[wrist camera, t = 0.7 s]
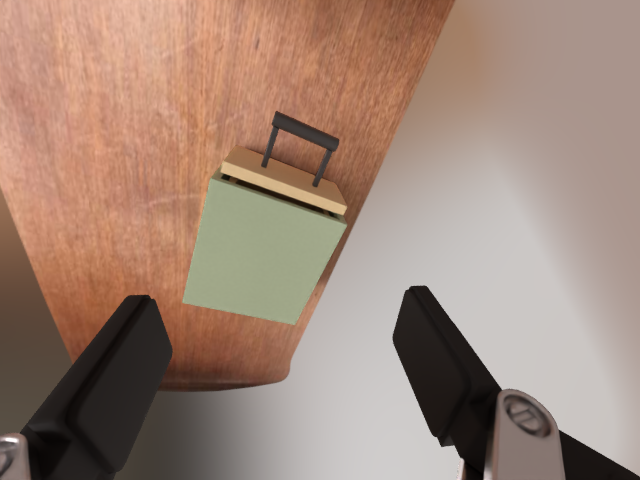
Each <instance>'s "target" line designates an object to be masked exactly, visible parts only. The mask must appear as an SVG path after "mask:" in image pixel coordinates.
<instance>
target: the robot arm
mask: <svg viewBox="0 0 640 480" xmlns="http://www.w3.org/2000/svg"><path fill="white" fill-rule="evenodd" d="M393 344H394V346H395V348H396V351H397V353H398V356H399V358H400V361H401V363H402V365H403V368H404V370H405V372H406V375H407V377H408V379H409V382H410V384H411V387H412V389H413V391H414V394H415V396H416V399H417V401H418V403H419V406H420V408H421V411H422V413H423V415H424V418H425V420H426V422H427V425H428V427H429V429H430V431H431V433H432V435H433V436H434V437H437V438H438V440H439V443H440V445H441V447H444V446H453V445H455V448H456V449H457V452H458V454H459V456H460V462H459V468H458V475H457V480H640V477H639V476H638V475H636V474H635V473H633V472H631V471H630V470H628V469H626V468H624V467H623V466H621V465H619V464H617V463H615V462H614V461H612V460H610V459H609V458H607V457H605V456H604V455H602V454H600V453H598V452H596V451H595V450H593V449H591V448H590V447H588V446H586V445H585V444H583V443H581V442H579V441H577V440H576V439H574V438H572V437H571V436H569V435H567V434H565V433H564V432H562V431H560V430H559V429H558V427H557V424H556V422H555V420H554V418H553V417H552V415H551V414H550V412H549V411H548V410H547V409H546V408H545V407H544V406H543V405H542V404H541V403H540V402H538V401H537V400H536V399H535V398H533V397H531V396H530V395H528V394H526V393H524V392H521V391H519V390H514V389H505V390H502V389H501V388H500V386H499V385H498V384H497V382H496V381H495V379H494V378H493V377H492V375H491V374H490V372H489V371H488V370H487V368H486V367H485V365H484V364H483V363H482V361H481V360H480V359H479V357H478V356H477V354H476V353H475V352H474V350H473V349H472V347H471V346H470V345H469V343H468V342H467V340H466V339H465V338H464V336H463V335H462V333H461V332H460V331H459V329H458V328H457V327H456V325H455V324H454V323H453V322H452V321H451V319H450V318H449V316H448V315H447V313H446V312H445V311H444V309H443V308H442V307H441V305H440V304H439V302H438V301H437V300H436V298H435V297H434V295H433V294H432V293H431V291H430V290H429V288H428V287H427V286H411V287H410V288H409V290H406V291H405V294H404V297H403V301H402V304H401V308H400V311H399V315H398V319H397V322H396V326H395V329H394V333H393ZM171 357H172V346H171V343H170V340H169V337H168V335H167V332H166V329H165V326H164V323H163V321H162V318H161V315H160V312H159V309H158V306H157V304H156V301H155V300H154V299H151V298H150V296H149V295H130V296H127V297H126V298H125V299H124V301H123V302H122V303H121V304H120V306H119V307H118V308H117V310H116V311H115V312H114V313H113V315H112V316H111V317H110V318H109V320H108V321H107V322H106V324H105V325H104V326H103V327H102V329H101V330H100V331H99V333H98V334H97V335H96V336H95V338H94V339H93V340H92V341H91V343H90V344H89V345H88V346H87V348H86V349H85V350H84V351H83V353H82V354H81V355H80V357H79V358H78V359H77V360H76V362H75V363H74V364H73V365H72V367H71V368H70V369H69V371H68V372H67V373H66V375H65V376H64V377H63V378H62V379H61V381H60V382H59V383H58V385H57V386H56V387H55V388H54V390H53V391H52V392H51V394H50V395H49V396H48V397H47V399H46V400H45V401H44V402H43V404H42V405H41V406H40V408H39V409H38V410H37V411H36V413H35V414H34V415H33V416H32V418H31V419H30V420H29V422H28V423H27V424H26V425H25V427H24V428H23V429H22V431H21V432H20V433H6V434H2V435H0V480H113V479H114V476H115V474H116V472H118V471H120V470H121V469H122V468H123V466H124V465H125V463H126V461H127V458H128V456H129V454H130V452H131V449H132V447H133V445H134V443H135V440H136V438H137V436H138V433H139V431H140V429H141V426H142V424H143V422H144V420H145V417H146V415H147V412H148V410H149V408H150V406H151V403H152V401H153V399H154V397H155V394H156V392H157V390H158V387H159V385H160V383H161V381H162V378H163V376H164V374H165V371H166V369H167V367H168V364H169V362H170V360H171Z"/></svg>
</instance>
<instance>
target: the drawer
mask: <svg viewBox="0 0 640 480" xmlns="http://www.w3.org/2000/svg"><path fill="white" fill-rule="evenodd" d="M272 125H273V129H272V132H271V135H270V138H269V141H268V145H267V148H266V151H265V154H264V155H261V154H259V153H256V152H254V151H251V150H249V149H246V148H243V147H241V146H238V145H236V146H235V147H234V148H233V150H232V151H231V152H230V153H229V155H228V156H227V157H226V158H225V160H224V161H223V163H222V168H221V173H224V174H227V175H230V176H231V177H230V179H229V182H232V183H235V184H238V185H241V186H244V187H247V188H249V189H252V190H255V191H258V192H261V193H264V194H267V195H270V196H273V197H275V198H278V199H281V200H284V201H287V202H290V203H293V204H296V205H299V206H301V207H304V208H307V209H310V210H313V211H316V212H319V213H322V214H325V215H327V216H330V215H329V212H328V210H329V211H332V212H334V213H337V214H340V215H344V213H345V211H346V209H347V207H348V206H347V204H346V202H345V200H344V199H343V197H342V195H341V193H340V191H339V189H338V187H337V185H336V183H333V182H330V181H328V180H325V179H323V178H321V177H322V175H323V173H324V170H325V168H326V166H327V163H328V161H329V159H330V157H331V154H332V151H333V152H335V151H336V149H337V147H338V145H339V139H338V138H336V137H333V136H331V135H329V134H327V133H325V132H322V131H320V130H318V129H316V128H314V127H311V126H309V125H307V124H305V123H302V122H300V121H298V120H296V119H294V118H291V117H289V116H287V115H285V114H282V113H280V112H278V111H276V112H275V115H274V118H273V122H272ZM279 128H280V129H282V130H284V131H287V132H289V133H291V134H294V135H296V136H298V137H300V138H303V139H305V140H307V141H310V142H312V143H314V144H317V145H319V146H321V147H324V148H326V149H327V150H326V152H325V154H324V157H323V159H322V162H321V164H320V166H319V169H318V171H317V173H316V176H315V175H313V174H310V173H307V172H305V171H302V170H300V169H297V168H295V167H292V166H290V165H287V164H284V163H282V162H279V161H277V160H274V159H272V158H270V155H271V152H272V149H273V146H274V143H275V140H276V136H277V133H278V130H279Z"/></svg>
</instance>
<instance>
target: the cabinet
mask: <svg viewBox="0 0 640 480" xmlns="http://www.w3.org/2000/svg"><path fill="white" fill-rule="evenodd" d="M221 168H222V164H221V166H220V167H219V168H218V170H217V171H216V172H215V173H214V175H213V176H212V177H211V178H210V182H209V186H208V191H207V195H206V200H205V204H204V208H203V213H202V217H201V222H200V226H199V230H198V235H197V239H196V244H195V248H194V252H193V257H192V261H191V265H190V270H189V274H188V279H187V283H186V287H185V292H184V296H183V301H182V303H186V304H191V305H196V306H201V307H206V308H211V309H216V310H221V311H226V312H232V313H237V314H242V315H247V316H252V317H257V318H262V319H267V320H272V321H277V322H282V323H287V324H292V325H295V324H296V322H297V320H298V318H299V316H300V314H301V312H302V310H303V308H304V307H305V305H306V303H307V301H308V299H309V297H310V295H311V293H312V291H313V289H314V288H315V286H316V284H317V282H318V280H319V278H320V276H321V274H322V272H323V270H324V269H325V267H326V265H327V263H328V261H329V259H330V257H331V255H332V253H333V252H334V250H335V248H336V246H337V244H338V242H339V240H340V238H341V236H342V234H343V233H344V231H345V229H346V227H347V223H346V221H345V219H344V216H343V215H340V214H337V213H334V212H332V211H329V210H328V212H329V215H330V216H327V215H325V214H322V213H319V212H316V211H313V210H310V209H307V208H304V207H301V206H299V205H296V204H293V203H290V202H287V201H284V200H281V199H278V198H275V197H273V196H270V195H267V194H264V193H261V192H258V191H255V190H252V189H249V188H247V187H244V186H241V185H238V184H235V183H232V182H229V179H230V177H231V176H230V175H227V174H224V173H221Z"/></svg>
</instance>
